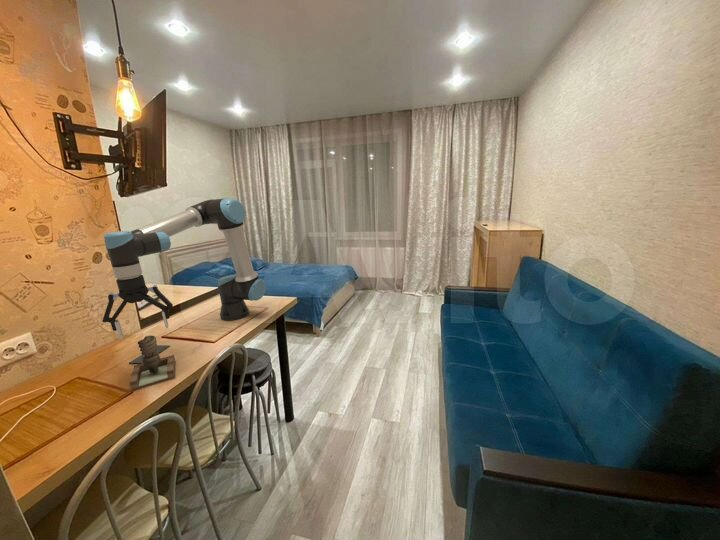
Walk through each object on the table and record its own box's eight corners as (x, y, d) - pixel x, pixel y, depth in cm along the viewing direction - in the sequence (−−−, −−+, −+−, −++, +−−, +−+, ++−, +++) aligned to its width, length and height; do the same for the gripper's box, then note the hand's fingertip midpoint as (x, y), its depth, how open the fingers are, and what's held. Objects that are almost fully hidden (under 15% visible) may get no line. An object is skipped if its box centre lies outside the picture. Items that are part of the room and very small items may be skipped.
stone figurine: (162, 366, 113) (153, 332, 109) (166, 372, 109) (156, 336, 105) (145, 373, 109) (135, 337, 105) (148, 379, 105) (137, 342, 102)
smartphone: (170, 345, 132) (142, 363, 118) (171, 347, 132) (143, 365, 118) (157, 345, 133) (127, 362, 119) (157, 346, 133) (128, 364, 119)
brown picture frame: (175, 378, 107) (173, 369, 106) (131, 391, 101) (129, 382, 100) (175, 362, 118) (173, 354, 117) (136, 373, 112) (134, 365, 111)
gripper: (172, 267, 109) (184, 319, 114) (84, 281, 97) (103, 338, 102) (171, 271, 103) (184, 326, 108) (78, 286, 90) (98, 347, 96)
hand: (145, 332), depth 105 cm, fingers open, 13 cm apart
